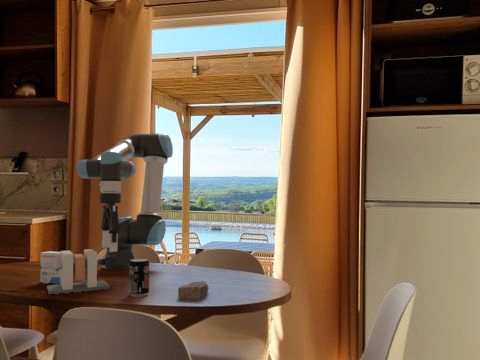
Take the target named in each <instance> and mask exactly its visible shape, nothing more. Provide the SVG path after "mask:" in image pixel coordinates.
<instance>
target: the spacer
mask: <svg viewBox="0 0 480 360" xmlns="http://www.w3.org/2000/svg"><path fill="white" fill-rule="evenodd" d="M73 261H75V268H73V280H75V281H81V280H82V281H84V279H85V257H84V254H82V253H76V254H75V253H73Z"/></svg>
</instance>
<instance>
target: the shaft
mask: <svg viewBox="0 0 480 360" xmlns="http://www.w3.org/2000/svg"><path fill="white" fill-rule="evenodd" d="M102 266H103V267H104V268H115V267H116V256H115V255H109V256H105V255H103V257H102V258H97V267H102ZM85 267H87V260H85ZM73 268H75V261H73ZM60 269H63V261H62V262H60Z"/></svg>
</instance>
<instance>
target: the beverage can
mask: <svg viewBox="0 0 480 360" xmlns="http://www.w3.org/2000/svg"><path fill="white" fill-rule="evenodd" d="M128 271H129V272H128V276H129V277H128V294H129V295H130V297H131V298H133V297H134V298H142V297H146V296H148V294H149V293H150V262H149V259H148V258H141V257H139V258H135V259H131V260H130V264H129V269H128Z"/></svg>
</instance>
